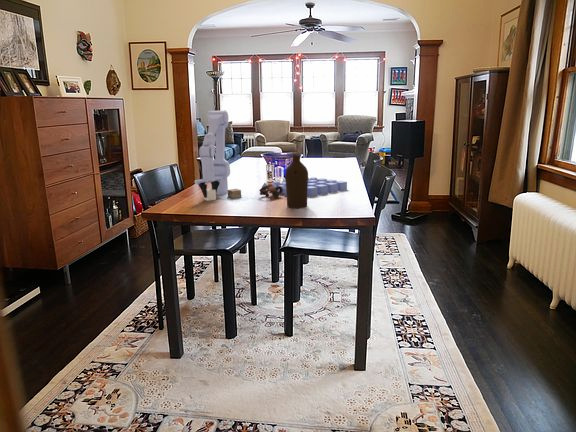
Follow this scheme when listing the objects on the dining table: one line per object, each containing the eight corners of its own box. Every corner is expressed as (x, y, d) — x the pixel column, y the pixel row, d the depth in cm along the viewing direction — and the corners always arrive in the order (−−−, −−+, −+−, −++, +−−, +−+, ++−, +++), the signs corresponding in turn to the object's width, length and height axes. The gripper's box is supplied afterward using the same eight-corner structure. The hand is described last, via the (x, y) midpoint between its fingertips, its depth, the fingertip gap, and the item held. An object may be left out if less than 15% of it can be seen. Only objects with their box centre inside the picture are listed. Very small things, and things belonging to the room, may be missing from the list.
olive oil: (312, 207, 208) (311, 153, 202) (291, 209, 204) (290, 154, 198) (302, 202, 217) (301, 151, 211) (282, 205, 213) (281, 152, 207)
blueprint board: (216, 197, 235) (216, 196, 235) (235, 194, 242) (235, 193, 242) (233, 202, 221) (233, 201, 221) (253, 199, 228) (253, 198, 228)
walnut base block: (227, 197, 232) (227, 189, 231) (236, 196, 235) (235, 188, 234) (232, 198, 228) (232, 191, 227) (241, 197, 231) (240, 189, 230)
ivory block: (204, 199, 228) (203, 189, 227) (212, 198, 230) (211, 188, 229) (208, 200, 224) (207, 191, 223) (216, 199, 227) (215, 189, 226)
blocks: (299, 200, 226) (298, 190, 225) (259, 191, 252) (258, 182, 251) (347, 190, 247) (347, 181, 246) (305, 183, 273) (305, 175, 272)
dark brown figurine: (266, 202, 222) (259, 187, 223) (262, 207, 231) (256, 192, 232) (287, 194, 226) (280, 179, 227) (283, 198, 235) (276, 184, 236)
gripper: (198, 172, 216) (200, 200, 220) (224, 169, 225) (226, 195, 228) (192, 170, 222) (194, 197, 225) (218, 167, 230) (219, 193, 234)
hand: (209, 196), depth 227 cm, fingers closed on ivory block, 4 cm apart
